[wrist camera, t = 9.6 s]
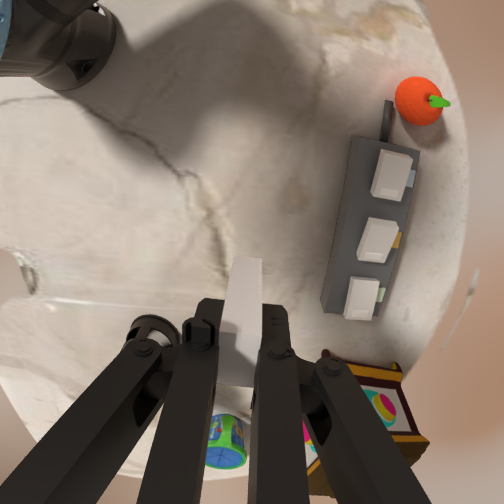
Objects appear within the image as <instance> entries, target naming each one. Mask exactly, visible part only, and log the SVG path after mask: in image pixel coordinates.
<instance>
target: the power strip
mask: <svg viewBox="0 0 504 504" xmlns="http://www.w3.org/2000/svg"><path fill="white" fill-rule="evenodd" d="M392 110H393V102H392V101H388V100H385V105H384V113H383V121H382V128H381V134H380V141H377V140H372V139H368V138H363V137H358V136H353V135H352V137H351V144H350V151H349V157H348V163H347V169H346V175H345V181H344V187H343V193H342V198H341V204H340V209H339V214H338V219H337V225H336V230H335V235H334V239H333V244H332V249H331V254H330V258H329V263H328V268H327V272H326V276H325V281H324V285H323V290H322V294H321V298H320V300H321V303H322V307H323V310H324V313H335V314H344V309H345V304H346V299H347V294H348V289H349V283H350V278H351V276H355V277H365V278H375V279H377V280H378V281H380V283H379V288H378V292H377V297H376V301H375V306H374V310H373V315H372V316H378V314H379V311H380V308H381V305H382V302H383V299H384V296H385V292H386V289H387V286H388V283H389V280H390V276H391V273H392V270H393V266H394V263H395V260H396V256H397V252H398V249H399V245H400V241H401V238H402V234H403V230H404V226H405V222H406V218H407V214H408V209H409V205H410V201H411V196H412V191H413V187H414V182H415V177H416V172H417V166H418V161H419V155H420V151H418V150H414V149H411V148H407V147H403V146H399V145H395V144H390V143H388V138H389V131H390V124H391V117H392ZM381 149H384V150H388V151H393V152H397V153H401V154H406V155H409V156H410V157H411V158H412V159H413V162H412V165H411V169H410V172H409V176H408V179H407V182H406V186H405V189H404V192H403V195H402V198H401V201H395V200H390V199H384V198H378V197H373V195H372V194H371V192H370V190H371V186H372V182H373V179H374V175H375V171H376V167H377V163H378V159H379V155H380V151H381ZM369 217H370V218H377V219H383V220H389V221H396V223H397V225H398V227H399V230H398V233H397V235H396V237H395V240H394V242H393V244H392V247H391V249H390V251H389V254H388V256H387V258H386V260H385V262H384V263H380V262H371V261H362V260H358V257H357V254H356V252H357V249H358V246H359V243H360V241H361V238H362V235H363V233H364V230H365V227H366V224H367V221H368V218H369Z"/></svg>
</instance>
